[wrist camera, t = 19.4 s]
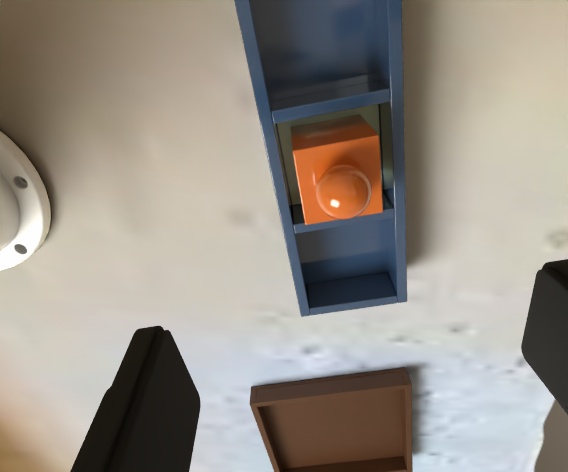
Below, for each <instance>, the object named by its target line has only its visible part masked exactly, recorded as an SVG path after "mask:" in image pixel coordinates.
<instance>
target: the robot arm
mask: <svg viewBox="0 0 568 472" xmlns="http://www.w3.org/2000/svg"><path fill="white" fill-rule="evenodd" d="M50 221H51V212H50V202H49V199H48V195H47V192H46V188H45V186H44V184H43V182H42V180H41V178H40V176H39V174H38V172H37V170H36V169H35V168H34V166H33V165H32V163H31V162H30V161H29V159H28V158H27V156H26V155H25V154H24V153H23V152H22V151H21V150H20V149H19V148H18V147H17V145H16V144H15V143H14V142H13V141H12V140H11V139H10V138H8V137H7V136H6V135H5V134H4V133H2V132H1V131H0V270H4V269H8V268H12V267H14V266H16V265H18V264H20V263H22V262H24V261H25V260H26V259H28V258H29V257H30V256H31V255H32V254H33V253H34V252H36V250H37V249H38V248H39V247H40V246H41V245H42V244H43V242H44V240H45V238H46V236H47V234H48V232H49V227H50ZM521 348H522V353H523V356H524V358H525V360H526V361H527V362H528V364H529V365H530V366H531V368H532V369H533V370H534V372H535V373H536V374H537V375H538V377H539V378H540V379H541V381H542V382H543V383H544V384H545V386H546V387H547V388H548V390H549V391H550V392H551V394H552V395H553V396H554V397H555V399H556V400H557V401H558V403H559V404H560V405H561V406H562V408H563V409H564V410H565V412H566V413H567V414H568V259H566V260H560V261H554V262H548V263H545V264H544V265H543V268H542V270H539V271H538V272H537V274H536V279H535V284H534V288H533V293H532V298H531V303H530V307H529V312H528V317H527V322H526V326H525V331H524V336H523V341H522V346H521ZM199 412H200V397H199V394H198V391H197V389H196V387H195V385H194V383H193V381H192V378H191V376H190V374H189V372H188V370H187V367H186V365H185V363H184V361H183V359H182V356H181V354H180V352H179V350H178V348H177V345H176V343H175V341H174V339H173V337H172V335H171V333H170V331H169V330H165V331H164V329H163V328H162V327H161V326H154V327H148V328H142V329H138V330H136V331H135V333H134V335H133V337H132V340H131V342H130V344H129V347H128V349H127V351H126V354H125V356H124V358H123V360H122V363H121V365H120V367H119V370H118V372H117V374H116V377H115V379H114V381H113V384H112V386H111V387H110V388H109V389H108V390H107V391H106V393H105V395H104V397H103V399H102V401H101V403H100V406H99V408H98V410H97V412H96V415H95V417H94V419H93V422H92V424H91V426H90V428H89V431H88V433H87V435H86V437H85V440H84V442H83V444H82V446H81V449H80V451H79V453H78V455H77V458H76V460H75V462H74V464H73V467H72V469H71V471H70V472H189V469H190V463H191V458H192V452H193V446H194V441H195V435H196V429H197V424H198V418H199Z"/></svg>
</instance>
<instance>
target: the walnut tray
mask: <svg viewBox="0 0 568 472" xmlns="http://www.w3.org/2000/svg"><path fill="white" fill-rule="evenodd" d="M250 406H251V409H252V411H253V414H254V417H255V420H256V422H257V425H258V428H259V431H260V433H261V436H262V439H263V442H264V444H265V447H266V450H267V453H268V455H269V458H270V461H271V464H272V466H273V469H274V472H412V393H411V382H410V379H409V376H408V373H407V370H406V368H397V369H390V370H382V371H374V372H366V373H358V374H350V375H342V376H335V377H327V378H319V379H311V380H303V381H295V382H288V383H280V384H272V385H264V386H256V387H251V396H250Z"/></svg>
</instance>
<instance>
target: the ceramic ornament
mask: <svg viewBox="0 0 568 472" xmlns="http://www.w3.org/2000/svg"><path fill="white" fill-rule="evenodd" d="M290 129H291V140H292V151H293V157H294V163H295V169H296V174H297V180H298V186H299V191H300V197H301V203H302V209H303V214H304V220H305V224H306V225H308V224H314V223H321V222H327V221H333V220H348V219H352V218H354V217H357V216H363V215H369V214H376V213H382V212H383V203H382V184H381V165H380V146H379V135H378V134H377V133H376V132H375V131H374V129H373V128H372V127H371V126H370V125H369V124H368V123H367V121H366V120H365V119H364V118H363V117H362V116H361V114H358V115H352V116H347V117H342V118H336V119H331V120H326V121H320V122H315V123H309V124H304V125H299V126H293V127H291V128H290Z"/></svg>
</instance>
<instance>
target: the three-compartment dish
mask: <svg viewBox="0 0 568 472" xmlns="http://www.w3.org/2000/svg"><path fill="white" fill-rule="evenodd" d="M234 1H235V6H236V10H237V15H238V20H239V25H240V29H241V34H242V39H243V43H244V48H245V53H246V58H247V62H248V67H249V72H250V77H251V81H252V86H253V91H254V95H255V100H256V105H257V110H258V114H259V119H260V124H261V129H262V133H263V138H264V143H265V148H266V152H267V157H268V162H269V166H270V171H271V176H272V181H273V185H274V190H275V195H276V200H277V204H278V209H279V214H280V218H281V223H282V228H283V233H284V237H285V242H286V247H287V252H288V256H289V261H290V266H291V270H292V275H293V280H294V285H295V289H296V294H297V299H298V304H299V308H300V313H301V316H302V317H303V316H310V314H311V315H317V314H324V313H331V312H338V311H345V310H352V309H359V308H366V307H373V306H380V305H387V304H394V303H397V302H398V303H401V302H407V266H406V209H405V153H404V96H403V40H402V0H234ZM358 114H361V116H362V117H363V118H364V119H365V120H366V121H367V123H368V124H369V125H370V126H371V127H372V128H373V129H374V131H375V132H376V133H377V134H378V135H379V146H380V165H381V184H382V203H383V212H382V213H376V214H369V215H363V216H357V217H354V218H352V219H348V220H333V221H327V222H321V223H314V224H308V225H306V224H305V220H304V214H303V209H302V203H301V197H300V191H299V186H298V180H297V174H296V169H295V163H294V157H293V151H292V140H291V129H290V128H291V127H293V126H299V125H304V124H309V123H315V122H320V121H326V120H331V119H336V118H342V117H347V116H352V115H358Z"/></svg>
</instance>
